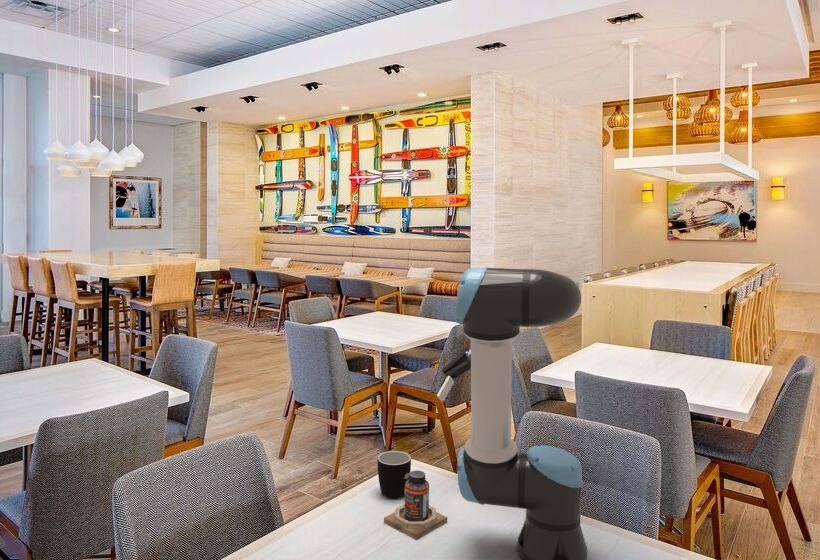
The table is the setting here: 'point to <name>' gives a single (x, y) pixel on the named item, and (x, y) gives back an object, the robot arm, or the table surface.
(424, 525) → the socket board
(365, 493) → the table surface
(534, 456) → the robot arm
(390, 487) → the mug
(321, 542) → the table surface
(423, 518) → the supplement bottle
